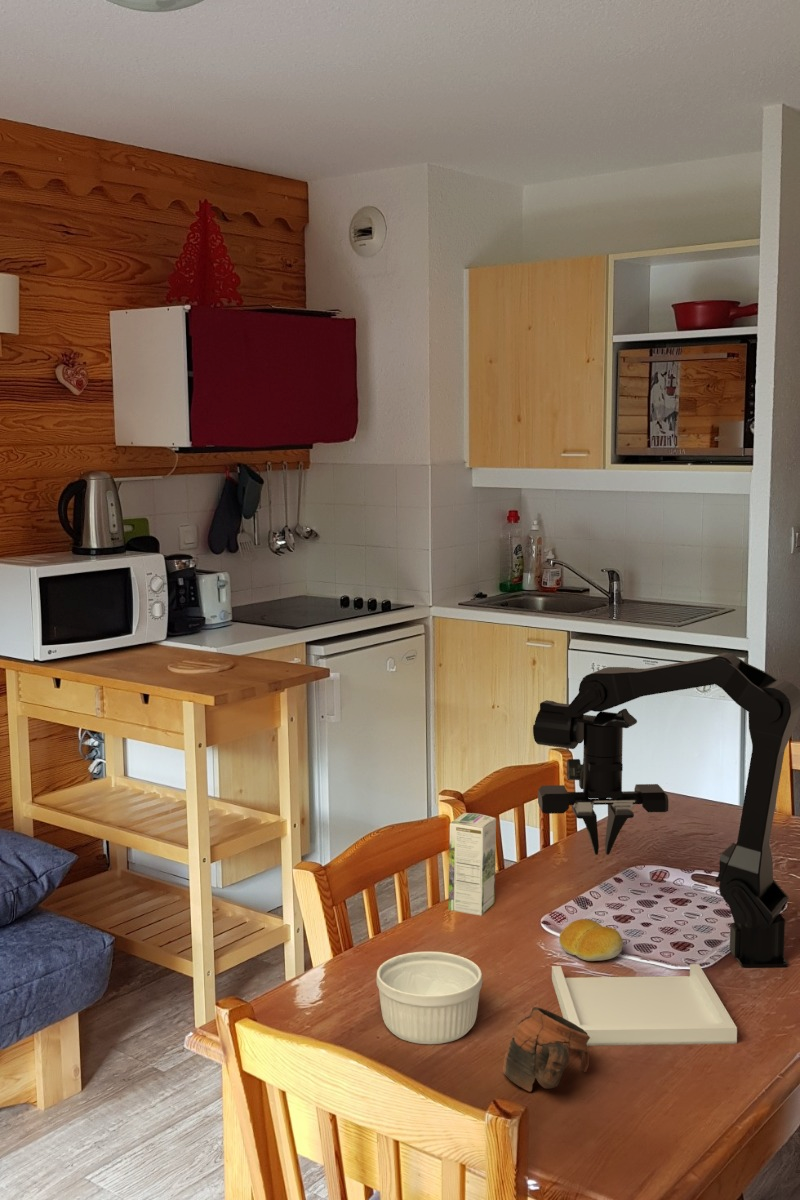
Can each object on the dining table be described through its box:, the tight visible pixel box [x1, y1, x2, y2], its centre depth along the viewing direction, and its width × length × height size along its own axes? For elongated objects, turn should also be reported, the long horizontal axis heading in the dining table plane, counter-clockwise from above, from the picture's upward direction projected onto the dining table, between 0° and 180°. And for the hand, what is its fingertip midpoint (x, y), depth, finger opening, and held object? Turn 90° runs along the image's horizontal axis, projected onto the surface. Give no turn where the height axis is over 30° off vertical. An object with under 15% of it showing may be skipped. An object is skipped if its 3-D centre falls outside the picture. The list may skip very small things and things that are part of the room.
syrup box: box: [448, 812, 497, 917], centre depth 188 cm, size 6×6×14 cm
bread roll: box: [558, 918, 624, 962], centre depth 171 cm, size 8×9×4 cm
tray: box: [551, 963, 738, 1047], centre depth 154 cm, size 20×18×2 cm
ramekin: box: [376, 951, 483, 1045], centre depth 150 cm, size 13×13×7 cm
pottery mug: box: [502, 1006, 590, 1093], centre depth 137 cm, size 12×9×8 cm
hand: (601, 853), depth 180 cm, fingers closed
